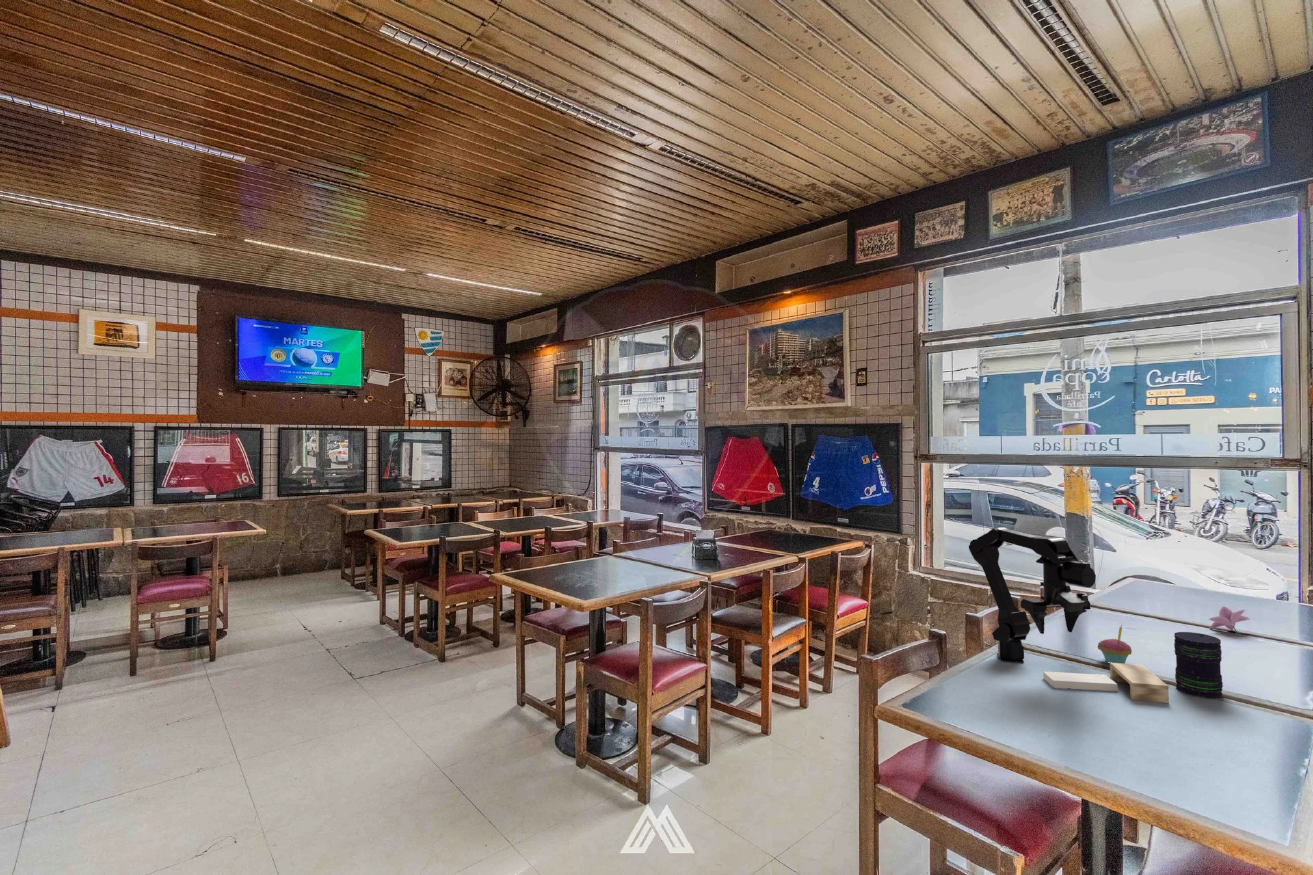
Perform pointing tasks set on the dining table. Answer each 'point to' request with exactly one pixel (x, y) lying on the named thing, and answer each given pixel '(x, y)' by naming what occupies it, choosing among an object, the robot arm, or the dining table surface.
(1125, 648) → the cupcake
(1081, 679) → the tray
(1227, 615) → the lily
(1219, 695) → the black disc stack
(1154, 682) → the beige block
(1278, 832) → the dining table surface
